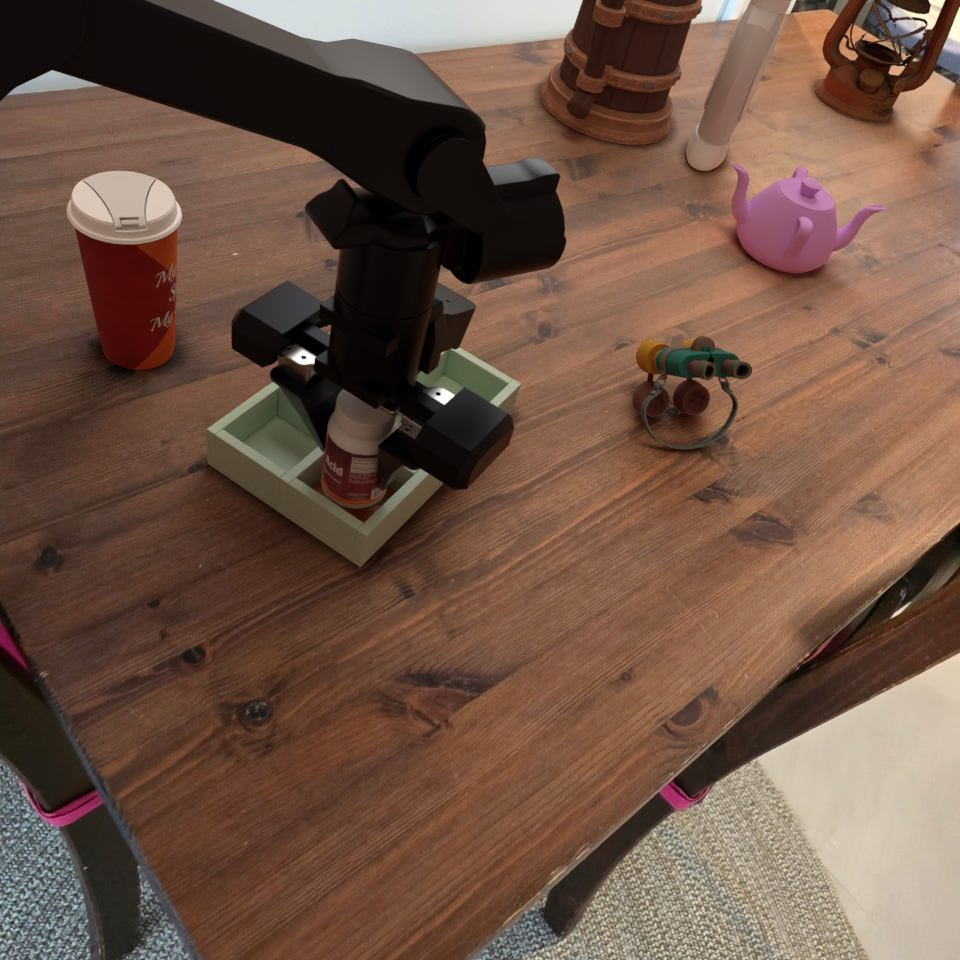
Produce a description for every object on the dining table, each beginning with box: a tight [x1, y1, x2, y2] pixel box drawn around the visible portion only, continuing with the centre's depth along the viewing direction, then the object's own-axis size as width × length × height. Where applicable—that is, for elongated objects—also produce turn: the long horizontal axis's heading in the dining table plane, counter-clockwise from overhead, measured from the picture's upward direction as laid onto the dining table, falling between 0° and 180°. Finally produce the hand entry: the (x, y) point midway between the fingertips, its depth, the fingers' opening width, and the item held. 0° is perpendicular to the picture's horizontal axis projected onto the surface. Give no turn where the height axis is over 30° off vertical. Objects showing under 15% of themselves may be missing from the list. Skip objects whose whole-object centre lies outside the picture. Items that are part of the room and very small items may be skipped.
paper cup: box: [66, 170, 183, 371], centre depth 68 cm, size 8×8×14 cm
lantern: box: [814, 0, 960, 124], centre depth 130 cm, size 17×13×30 cm
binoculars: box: [631, 335, 753, 450], centre depth 76 cm, size 9×9×10 cm
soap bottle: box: [685, 0, 792, 172], centre depth 108 cm, size 13×8×24 cm, turn 157°
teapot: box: [730, 162, 888, 274], centre depth 101 cm, size 12×14×9 cm
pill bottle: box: [321, 389, 398, 509], centre depth 61 cm, size 5×5×8 cm
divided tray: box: [206, 346, 522, 568], centre depth 70 cm, size 14×21×4 cm
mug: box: [539, 0, 703, 146], centre depth 111 cm, size 18×23×20 cm
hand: (356, 467), depth 63 cm, fingers closed on pill bottle, 5 cm apart
